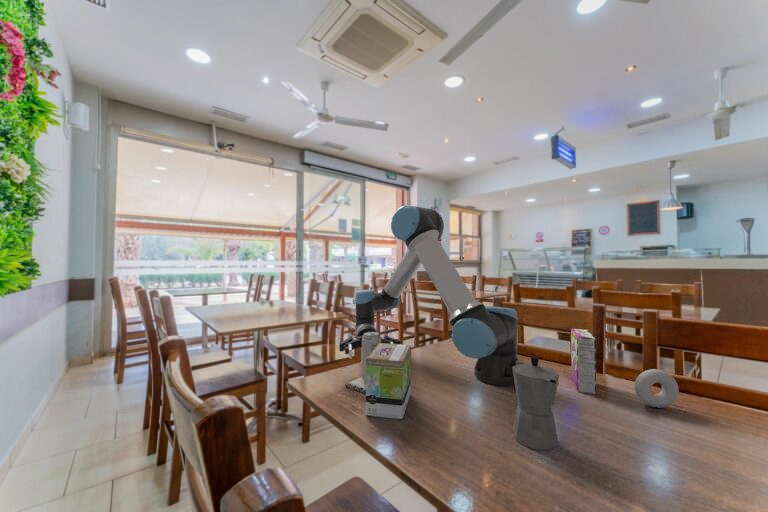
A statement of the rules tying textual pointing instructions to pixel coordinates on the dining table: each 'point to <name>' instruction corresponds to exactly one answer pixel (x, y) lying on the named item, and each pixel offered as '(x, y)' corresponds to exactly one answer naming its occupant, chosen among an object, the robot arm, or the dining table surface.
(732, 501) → the dining table surface
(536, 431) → the coffeepot
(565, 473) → the dining table surface
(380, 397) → the tea box
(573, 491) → the dining table surface
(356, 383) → the pad
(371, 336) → the energy drink can
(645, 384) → the donut
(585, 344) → the candy bar box
